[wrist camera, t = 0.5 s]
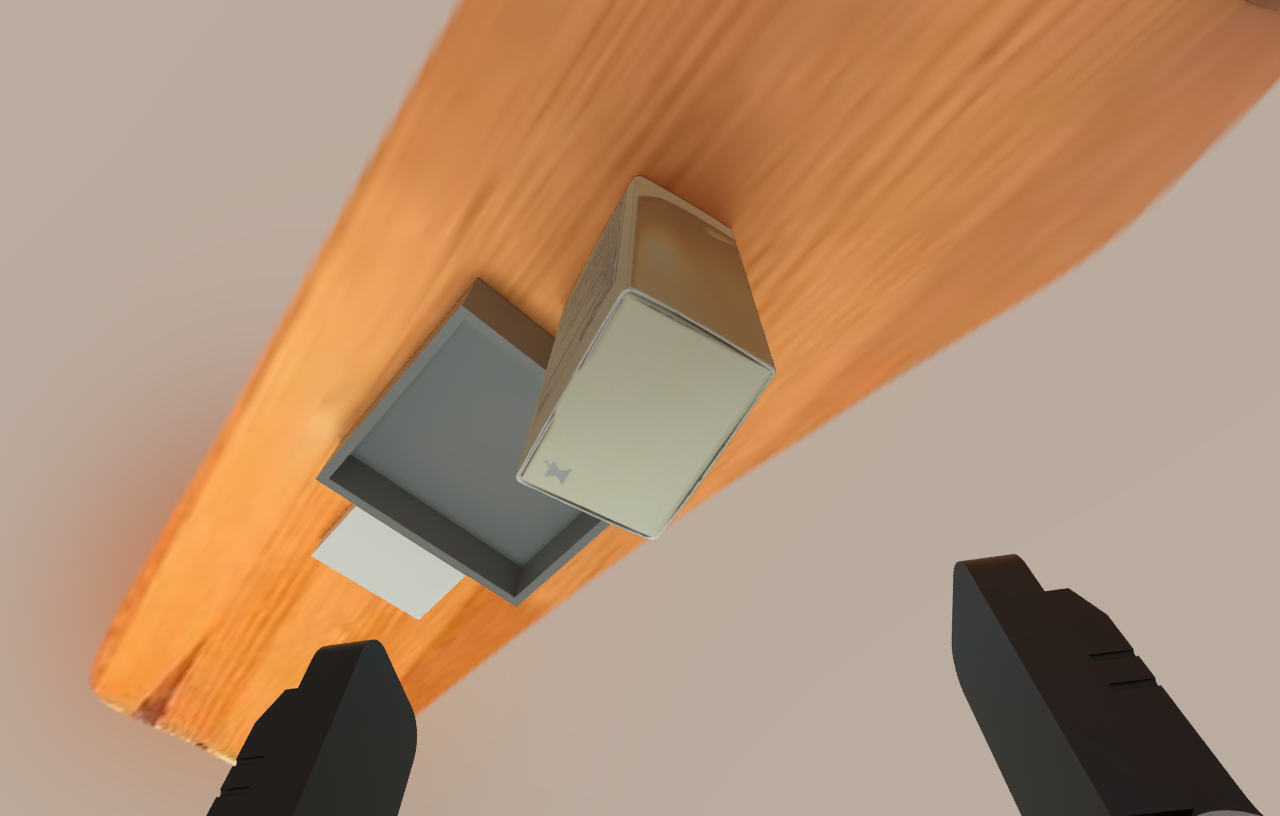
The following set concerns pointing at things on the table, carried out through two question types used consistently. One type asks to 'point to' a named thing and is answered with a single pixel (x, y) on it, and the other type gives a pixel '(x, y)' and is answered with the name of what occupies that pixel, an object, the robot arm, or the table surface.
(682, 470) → the skincare box
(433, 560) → the grey open tray
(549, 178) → the table surface
